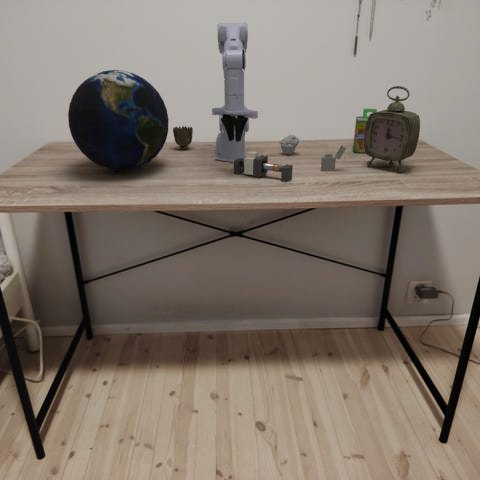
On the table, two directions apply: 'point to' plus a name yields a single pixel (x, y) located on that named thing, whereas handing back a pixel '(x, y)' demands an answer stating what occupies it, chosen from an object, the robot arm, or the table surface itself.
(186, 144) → the cup
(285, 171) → the linear slide rail
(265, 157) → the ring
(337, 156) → the lighter
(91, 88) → the globe
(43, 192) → the table surface
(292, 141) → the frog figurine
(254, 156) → the sleeve
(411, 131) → the tabletop clock
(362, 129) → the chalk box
